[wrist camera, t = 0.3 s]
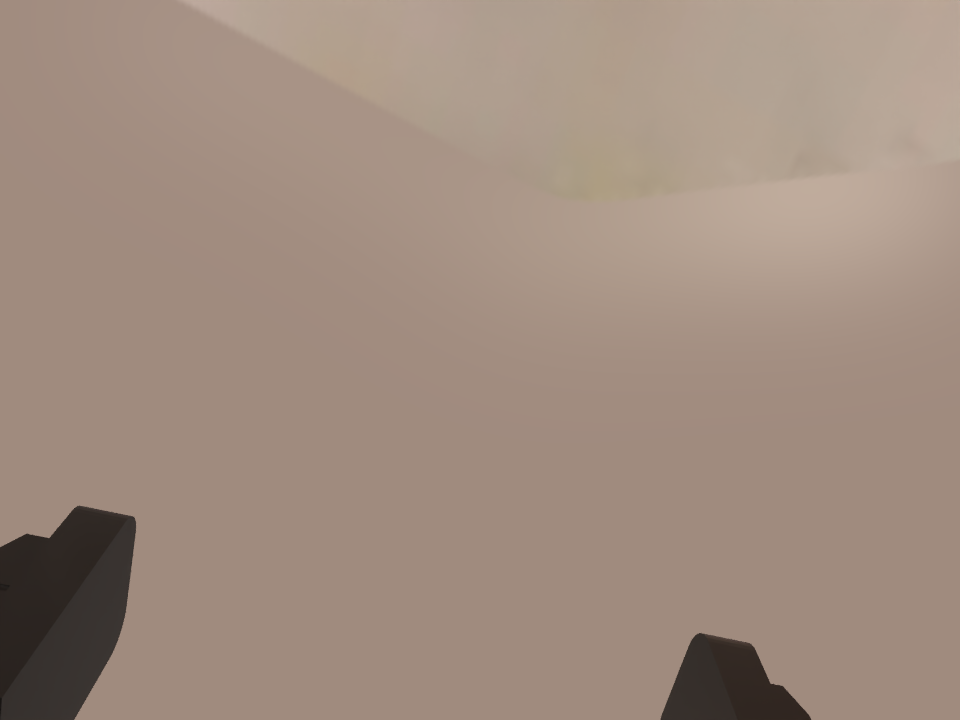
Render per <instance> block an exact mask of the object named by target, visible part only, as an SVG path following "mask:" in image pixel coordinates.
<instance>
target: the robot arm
mask: <svg viewBox="0 0 960 720" xmlns="http://www.w3.org/2000/svg"><path fill="white" fill-rule="evenodd" d="M135 533H136V521H135V518H134V517H133V516H128V515H123V514H118V513H113V512H108V511H103V510H98V509H94V508H89V507H83V506H77V507H76V508H74V509H73V510H72V512H71V513H70V514H69V515H68V517H67V518H66V519H65V520H64V521H63V522H62V524H61V525H60V526H59V527H58V528H57V530H56V531H55V532H54V534H53V535H52V536H51V537H50V538H45V537H40V536H35V535H29V534H25V535H23V536H22V537H19V538H18V539H15V540H14V541H12V542H10V543H8V544H6V545H4V546H2V547H0V720H74V719H75V717H76V716H77V714H78V712H79V710H80V709H81V707H82V705H83V704H84V702H85V700H86V698H87V697H88V695H89V693H90V691H91V689H92V688H93V686H94V684H95V683H96V681H97V679H98V677H99V676H100V674H101V672H102V670H103V669H104V667H105V665H106V664H107V662H108V660H109V658H110V657H111V655H112V653H113V650H114V648H115V646H116V643H117V641H118V638H119V635H120V632H121V629H122V625H123V622H124V617H125V613H126V606H127V597H128V590H129V582H130V573H131V566H132V557H133V549H134V541H135ZM661 720H811V718H810V716H809V715H808V714H807V712H806V711H805V710H804V709H803V708H802V707H801V706H800V705H799V704H798V703H797V702H796V700H795V699H794V698H793V697H792V696H791V695H790V694H789V693H788V692H787V691H786V689H785V688H784V687H783V686H780V685H774V684H770V682H769V679H768V677H767V675H766V673H765V670H764V668H763V666H762V664H761V661H760V659H759V657H758V655H757V653H756V650H755V648H754V647H753V646H752V645H751V644H750V643H746V642H742V641H737V640H732V639H726V638H722V637H716V636H712V635H707V634H702V633H699V634H697V635H696V636H695V637H694V638H693V639H692V641H691V643H690V645H689V647H688V650H687V652H686V655H685V657H684V660H683V663H682V665H681V667H680V670H679V672H678V675H677V678H676V680H675V683H674V685H673V688H672V690H671V693H670V695H669V698H668V701H667V703H666V706H665V708H664V711H663V713H662V716H661Z"/></svg>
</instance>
